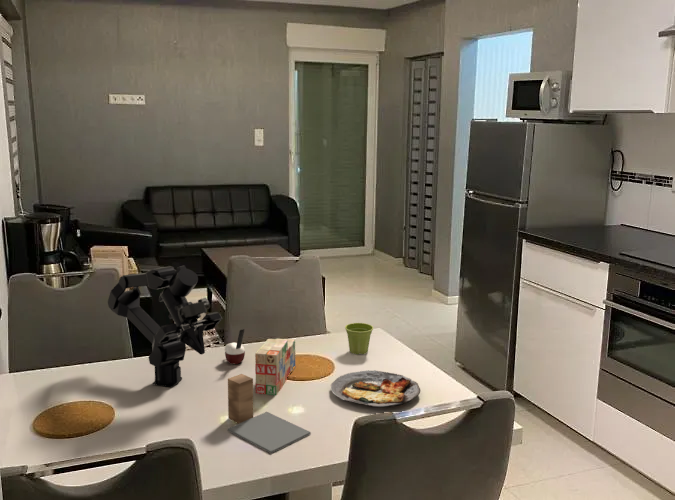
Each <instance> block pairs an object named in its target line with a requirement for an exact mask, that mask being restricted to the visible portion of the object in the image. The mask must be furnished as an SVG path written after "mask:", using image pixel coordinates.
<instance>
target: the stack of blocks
mask: <svg viewBox="0 0 675 500" xmlns="http://www.w3.org/2000/svg"><path fill="white" fill-rule="evenodd" d="M254 356H255V366H254V367H255V369H254V370H255V371H254V372H255V394H260V395H269V396H270V395H271V396H277V395H278V394H279V392H280V391H281V390H282V388H283V387H284V386H285V384H286V383H287V380H288V379H287V377H288V375H289V373H290V372H291V371H292V370H293V367H294V366H295V367H296V340H295V339H289V338H267V339H266V341H265V342H264V343H263V345H262V346H260V348H259V349H258V350H257V351H256V352H255V355H254ZM293 371H294V370H293ZM288 378H289V377H288Z"/></svg>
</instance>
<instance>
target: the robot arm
mask: <svg viewBox="0 0 675 500" xmlns="http://www.w3.org/2000/svg"><path fill="white" fill-rule="evenodd" d="M198 281H199V277H198V275H197V273H196V272H195V271H193V270H191V269H189V268H187V267H186V265H181V266H178V267H177V268H176V269H175V267H174V266H171V265H169V266H164V267H163V266H162V267H158V268H153V269H150V270H148V271H146V272H144V273H143V272H141V273H128V274H126V275H125V274H123V275H122V276H121V277H120V278H119V280H118V283H117V284H115V286H114V287H113V288H112V289H111V290H110V292H109V295H108V299H107V305H108V308H109V309H110V310H111V312H113V313H114V314H116V315H117V316H119V317H124V318H127V319H128V321H130V322H131V323H132V324H133V326H135V327H136V329H138V330H139V332H140V333H141V334H142V335H143V336H144V337H145V338H146V340H148V341H149V342H150V343H151V344H152V345H151V347H152V351H151V353H150V354H149V355H148V362H149V365H152V366H153V367H154V381H153V382H152V385H153V386H158V387H159V386H161V387H166V388H167V387H168V388H174V387H175V386H176V385H177V384H178V383H179V382H181V381H182V380H183V377H182V368H181V366H180V362H181V361H184V359H185V354H186V352H187V351H186V350H187V346H188V347H189V348H191V349H192V350H194V351H195V352H196V353H198V354H199V355H204V354H205V353H206V349H205V342H204V341H205V340H204V332H207V331H212V330H214V329H215V328H216V327H217V326H218V325H219V323H220V322H221V321H222V320H223V317H222V316H221V313H220V312H218V311H214V312H209V313H207V310H209V309H211V304H210V301H209V300H208V298H207V297H203V298H200V299H198V300H197V302H195V303H193V302H192V301H188V300H187V298H186V297H187V296H189V294H190V293H191V292H192V291H193V289H194V288H195V287H196V285H197V283H198ZM139 287H148V288H149V289H150V290H151V289H152V290H160V289H163V290H162V291H161V292H160V293H159V297H158V302H160V303H161V302H164V304H165V307H166V308H167V310H168V312H169V314H168V318H169V320H171V319H172V321H173V322H171V323H166V324H162V325H161V326H160V324H158V323H157V322H156V321H155V320H154V318H152V317H151V315H149V314H148V313H147V312H146V311H145V310H144V309H143V308H142V307H141V306H140V301H141V299H140V297H141V295H142V293H141V291H140V288H139ZM130 288H133V289H130ZM126 289H128V290H126ZM129 289H130V290H129ZM205 313H207V314H205ZM202 314H205V315H204V316H203V317H202ZM201 317H202V318H201ZM200 318H201V319H200ZM198 319H200V320H198Z"/></svg>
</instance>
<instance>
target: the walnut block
mask: <svg viewBox="0 0 675 500" xmlns="http://www.w3.org/2000/svg"><path fill="white" fill-rule="evenodd" d="M227 412H228V415H227V416H228V418H227V419H228V420H230V421H233V422H234V423H236V424H239V423H241V422H244V421H246V420H248V419H251V418H253V417H254V378H253V377H250V376H248V375H246V374H243V373H238V374H237V375H234V376H232V377H231V376H230V377H228V378H227Z"/></svg>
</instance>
